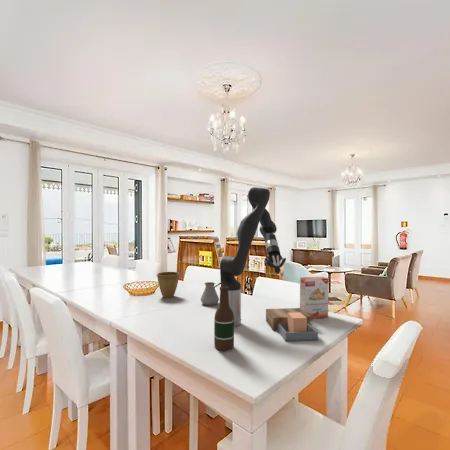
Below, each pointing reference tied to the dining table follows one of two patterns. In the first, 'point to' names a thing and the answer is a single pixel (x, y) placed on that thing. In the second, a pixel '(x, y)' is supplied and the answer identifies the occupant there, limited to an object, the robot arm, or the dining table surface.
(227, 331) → the beer bottle
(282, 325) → the box
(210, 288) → the coffee pot
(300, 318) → the terracotta block
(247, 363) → the dining table surface
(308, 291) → the cracker box
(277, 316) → the walnut platform
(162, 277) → the plant pot
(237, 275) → the robot arm
